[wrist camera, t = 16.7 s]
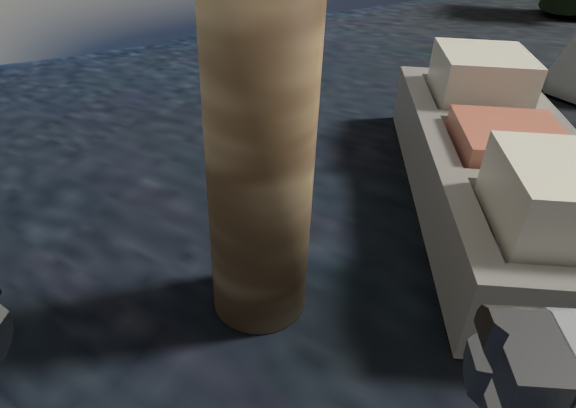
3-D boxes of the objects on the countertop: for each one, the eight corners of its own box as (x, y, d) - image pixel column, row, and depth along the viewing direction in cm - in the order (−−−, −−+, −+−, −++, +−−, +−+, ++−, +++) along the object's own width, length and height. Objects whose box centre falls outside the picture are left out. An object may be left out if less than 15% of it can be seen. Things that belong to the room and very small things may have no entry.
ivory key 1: (440, 114, 28) (451, 64, 27) (426, 81, 33) (434, 37, 31) (532, 119, 28) (548, 70, 27) (505, 86, 32) (518, 41, 31)
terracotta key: (458, 202, 24) (473, 149, 22) (439, 151, 28) (450, 104, 27) (567, 209, 24) (589, 156, 22) (531, 157, 28) (547, 109, 26)
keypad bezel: (453, 358, 18) (477, 284, 16) (392, 116, 36) (400, 66, 34) (681, 375, 18) (734, 302, 16) (509, 123, 35) (524, 73, 33)
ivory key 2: (507, 266, 18) (532, 199, 16) (474, 189, 22) (490, 130, 20) (654, 276, 18) (694, 209, 16) (592, 196, 22) (618, 137, 20)
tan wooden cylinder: (206, 330, 19) (175, -57, 12) (222, 267, 22) (206, -74, 15) (302, 337, 19) (331, -50, 12) (305, 272, 22) (331, -69, 15)
